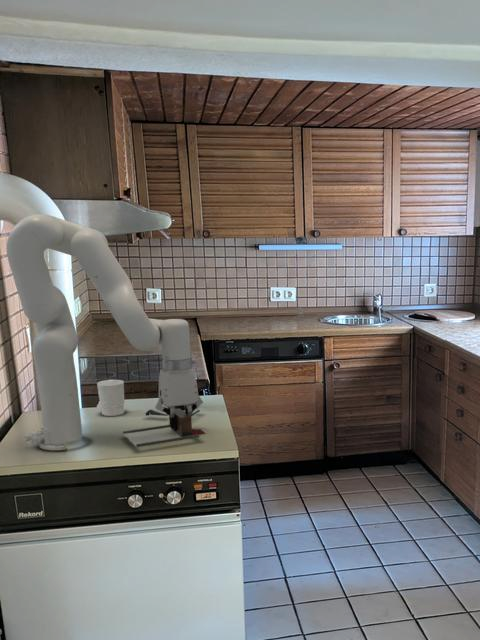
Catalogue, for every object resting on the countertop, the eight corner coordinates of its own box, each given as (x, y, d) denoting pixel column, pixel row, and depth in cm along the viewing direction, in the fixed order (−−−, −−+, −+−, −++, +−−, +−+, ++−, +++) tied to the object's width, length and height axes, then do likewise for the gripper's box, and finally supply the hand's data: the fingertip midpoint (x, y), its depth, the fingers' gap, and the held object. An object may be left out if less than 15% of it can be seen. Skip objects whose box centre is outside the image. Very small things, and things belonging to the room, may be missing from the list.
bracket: (157, 412, 222) (157, 403, 222) (201, 415, 220) (201, 406, 219) (135, 425, 209) (134, 416, 208) (182, 428, 206) (181, 419, 205)
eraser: (181, 437, 192) (180, 417, 191) (170, 428, 200) (169, 409, 199) (192, 435, 194) (191, 416, 192) (180, 426, 202) (179, 408, 200)
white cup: (113, 408, 226) (110, 378, 223) (131, 412, 222) (129, 381, 220) (94, 414, 219) (91, 383, 216) (113, 418, 215) (110, 386, 213)
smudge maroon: (191, 435, 194) (191, 434, 194) (186, 431, 197) (186, 430, 197) (205, 433, 196) (205, 432, 196) (200, 430, 200) (200, 429, 199)
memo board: (137, 452, 184) (136, 444, 184) (123, 438, 196) (122, 431, 195) (199, 442, 193) (199, 435, 193) (182, 429, 205) (182, 422, 204)
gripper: (200, 359, 199) (204, 421, 204) (143, 365, 191) (148, 429, 196) (210, 364, 193) (213, 427, 198) (151, 370, 184) (155, 436, 189)
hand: (180, 428), depth 197 cm, fingers closed on eraser, 3 cm apart
